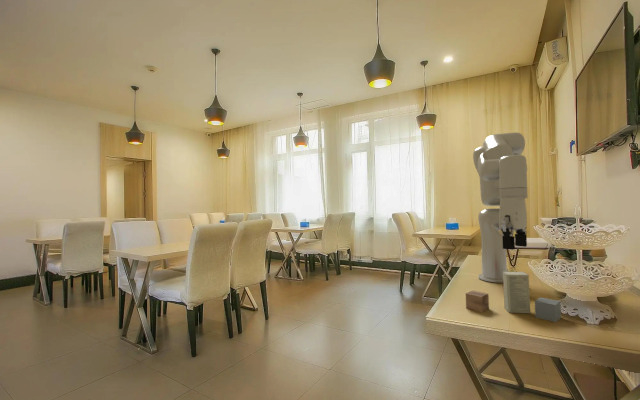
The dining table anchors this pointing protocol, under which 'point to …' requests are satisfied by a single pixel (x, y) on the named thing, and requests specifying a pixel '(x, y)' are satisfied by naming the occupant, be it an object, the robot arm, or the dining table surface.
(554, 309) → the slate block
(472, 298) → the walnut block
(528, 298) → the skincare box
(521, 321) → the dining table surface
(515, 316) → the dining table surface
